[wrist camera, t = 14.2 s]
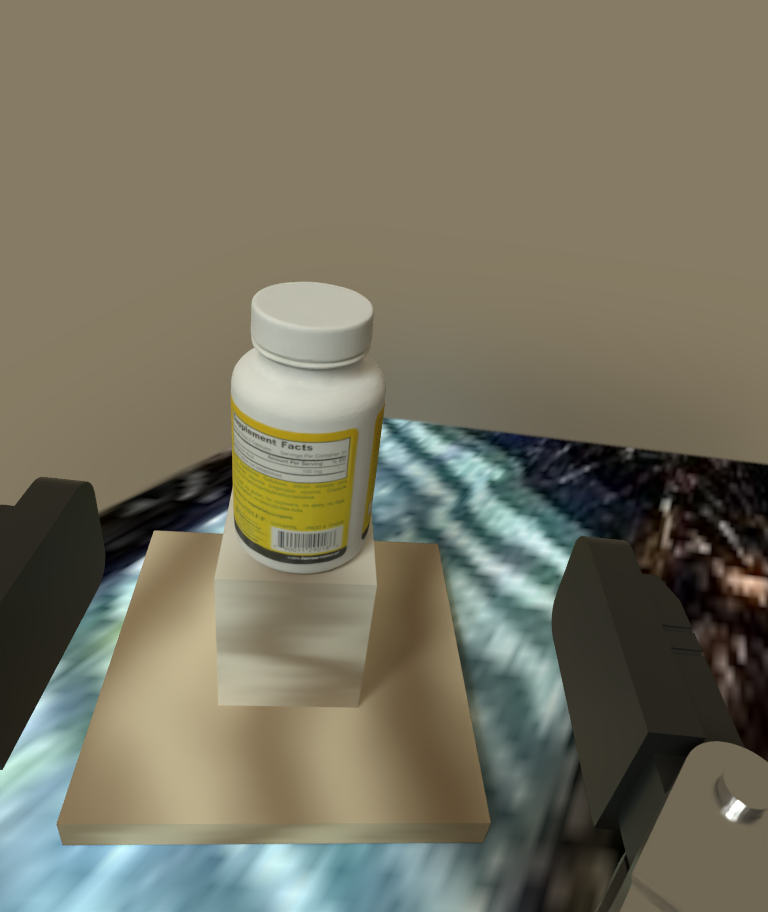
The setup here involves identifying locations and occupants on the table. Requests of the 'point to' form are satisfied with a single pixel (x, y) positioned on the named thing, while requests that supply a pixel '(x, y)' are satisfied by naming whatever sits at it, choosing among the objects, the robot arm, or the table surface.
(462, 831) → the pedestal
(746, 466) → the table surface
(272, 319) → the supplement bottle
